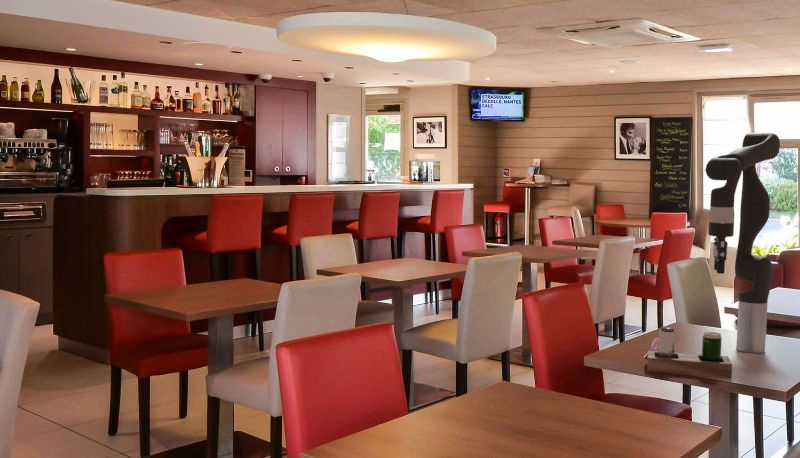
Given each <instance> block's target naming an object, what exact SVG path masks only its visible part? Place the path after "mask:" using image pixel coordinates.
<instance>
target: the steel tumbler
mask: <svg viewBox="0 0 800 458" xmlns="http://www.w3.org/2000/svg"><path fill="white" fill-rule="evenodd" d="M658 332H659V333H658V338H659V350H658V357H660V358H673V359H674V358H675V351H676V330H675V328H674V327H671V326H662V327H660V329H659V331H658Z"/></svg>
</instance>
